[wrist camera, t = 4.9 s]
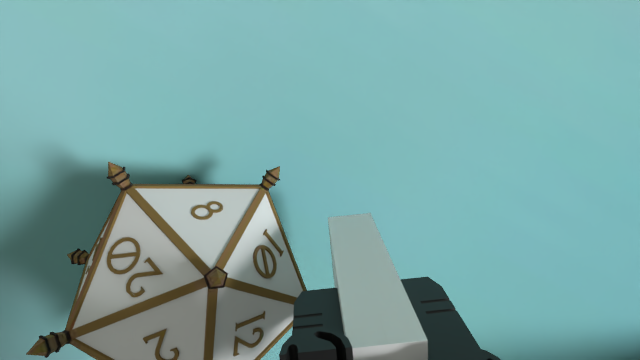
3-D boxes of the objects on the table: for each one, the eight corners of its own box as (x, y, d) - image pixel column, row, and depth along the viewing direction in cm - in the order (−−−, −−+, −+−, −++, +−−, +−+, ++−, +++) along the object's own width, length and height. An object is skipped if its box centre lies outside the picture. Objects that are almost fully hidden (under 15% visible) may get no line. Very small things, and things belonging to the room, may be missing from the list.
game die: (200, 216, 21) (-46, 283, 13) (283, 103, 16) (-16, 97, 8) (291, 364, 19) (58, 560, 10) (417, 279, 14) (179, 506, 6)
